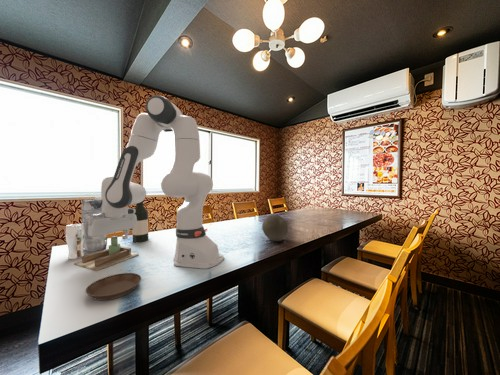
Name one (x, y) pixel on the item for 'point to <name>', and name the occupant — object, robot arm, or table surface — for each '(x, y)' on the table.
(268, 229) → the cantaloupe
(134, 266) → the table surface
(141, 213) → the wine bottle
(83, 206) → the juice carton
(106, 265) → the cradle
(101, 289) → the saucer
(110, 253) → the bottle
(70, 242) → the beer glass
